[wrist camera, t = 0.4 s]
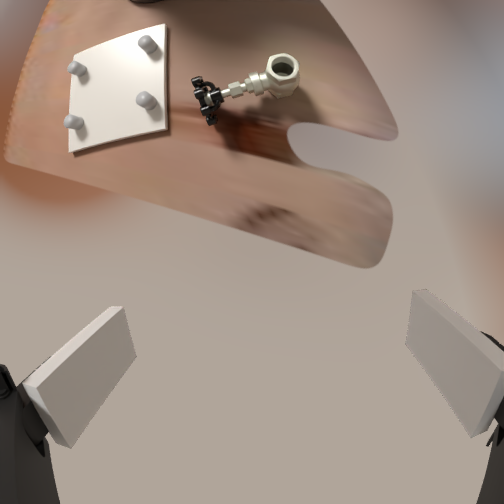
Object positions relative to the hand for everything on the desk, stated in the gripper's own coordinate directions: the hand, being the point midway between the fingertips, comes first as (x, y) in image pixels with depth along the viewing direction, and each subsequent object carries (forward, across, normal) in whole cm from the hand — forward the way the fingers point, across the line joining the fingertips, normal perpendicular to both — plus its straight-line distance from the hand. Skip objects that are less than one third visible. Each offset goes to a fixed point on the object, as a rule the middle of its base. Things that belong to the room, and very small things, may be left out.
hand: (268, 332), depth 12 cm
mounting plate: (+26, -20, +23) cm, 40 cm away
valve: (+26, -1, +18) cm, 32 cm away
